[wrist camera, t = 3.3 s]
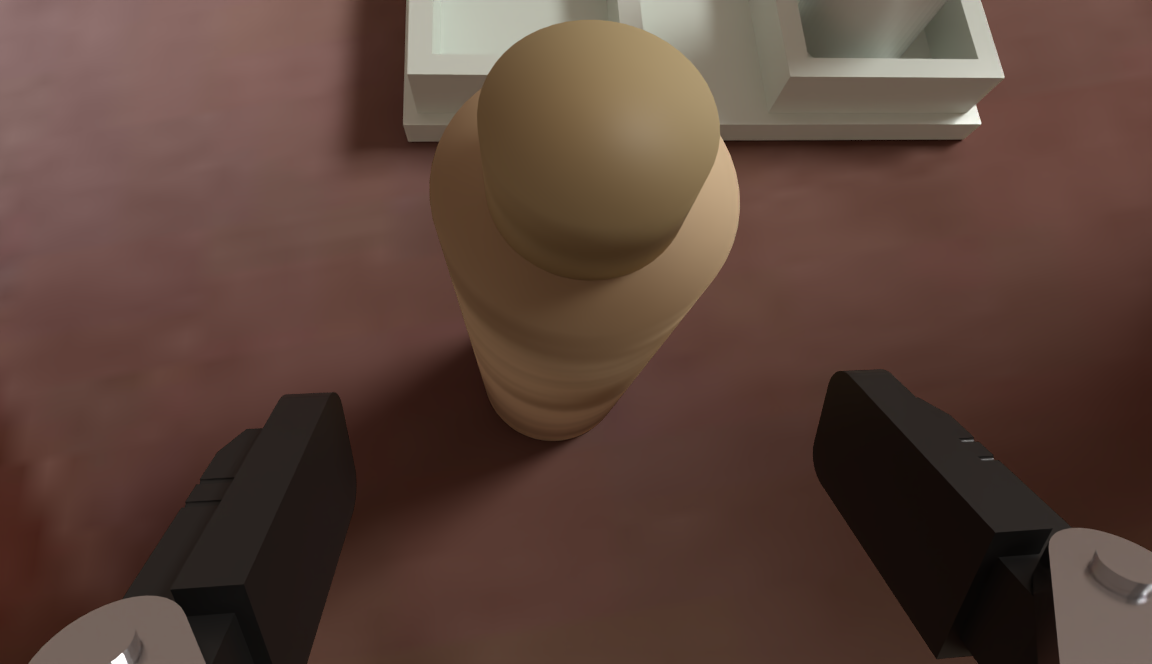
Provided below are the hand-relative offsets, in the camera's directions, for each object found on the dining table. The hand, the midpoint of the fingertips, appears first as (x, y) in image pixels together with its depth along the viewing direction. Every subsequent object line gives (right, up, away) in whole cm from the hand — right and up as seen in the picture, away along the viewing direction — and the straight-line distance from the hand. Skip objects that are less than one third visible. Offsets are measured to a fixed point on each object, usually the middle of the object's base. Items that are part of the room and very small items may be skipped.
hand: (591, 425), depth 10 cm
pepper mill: (-1, 0, +10) cm, 10 cm away
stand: (+4, +13, +15) cm, 20 cm away
